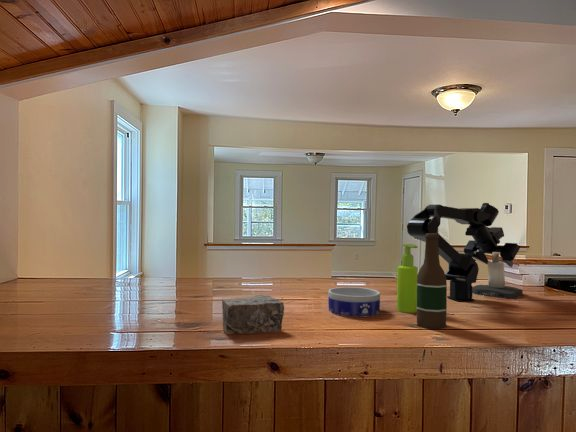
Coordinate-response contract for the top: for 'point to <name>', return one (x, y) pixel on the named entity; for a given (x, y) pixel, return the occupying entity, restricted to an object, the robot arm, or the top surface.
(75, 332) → the top surface
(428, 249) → the beer bottle
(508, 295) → the media streaming box
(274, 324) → the stone block
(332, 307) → the dog bowl
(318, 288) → the top surface
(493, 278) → the bottle
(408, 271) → the soap dispenser
